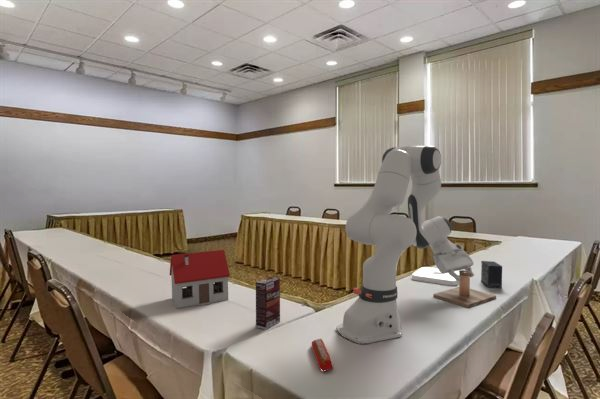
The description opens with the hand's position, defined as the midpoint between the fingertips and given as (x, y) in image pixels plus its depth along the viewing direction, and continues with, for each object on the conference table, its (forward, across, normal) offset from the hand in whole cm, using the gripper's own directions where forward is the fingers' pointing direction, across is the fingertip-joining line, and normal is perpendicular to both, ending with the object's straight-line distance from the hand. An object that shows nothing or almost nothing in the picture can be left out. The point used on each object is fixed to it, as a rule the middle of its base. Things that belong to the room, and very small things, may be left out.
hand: (465, 278), depth 145 cm
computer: (-12, +18, +26) cm, 34 cm away
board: (+6, 0, +6) cm, 9 cm away
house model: (-38, -96, +51) cm, 115 cm away
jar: (+5, 0, +6) cm, 7 cm away
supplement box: (-9, -83, +22) cm, 86 cm away
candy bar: (+12, -81, +1) cm, 82 cm away
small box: (+3, +28, +10) cm, 30 cm away
